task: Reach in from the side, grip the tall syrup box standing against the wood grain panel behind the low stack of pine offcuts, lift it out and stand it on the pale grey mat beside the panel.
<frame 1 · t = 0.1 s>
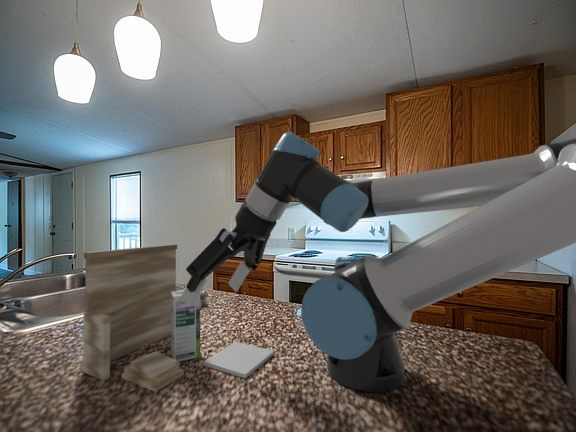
hand: (211, 293, 59), 15 cm above the countertop, tool tilted 35°, fingers open, 13 cm apart
egg carton: (190, 306, 102), on the countertop
offcut stack: (152, 378, 55), on the countertop
syrup box: (185, 356, 64), on the countertop
mat: (239, 359, 62), on the countertop
wood grain panel: (168, 358, 62), on the countertop
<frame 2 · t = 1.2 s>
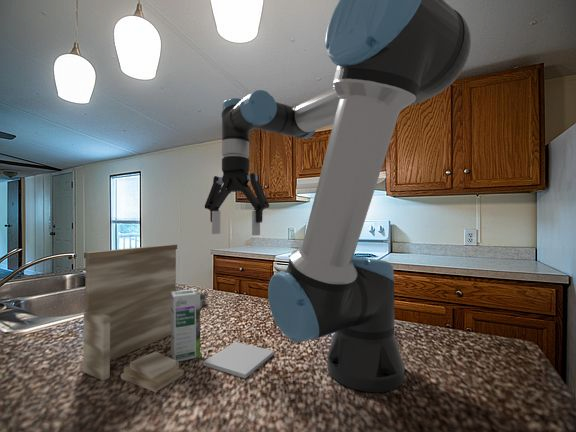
hand: (235, 234, 77), 27 cm above the countertop, tool pointing down, fingers open, 13 cm apart
nothing on the countertop moved.
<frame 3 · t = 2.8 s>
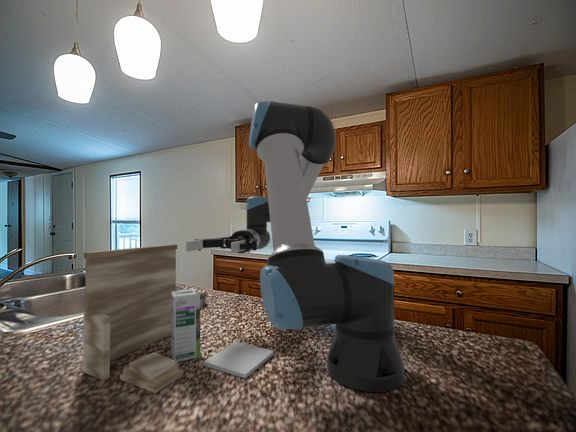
hand: (209, 247, 73), 24 cm above the countertop, tool horizontal, fingers open, 13 cm apart
nothing on the countertop moved.
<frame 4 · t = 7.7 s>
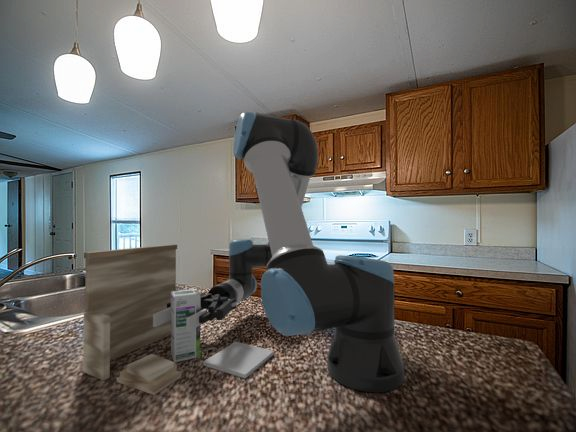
hand: (170, 322, 59), 9 cm above the countertop, tool horizontal, fingers closed on syrup box, 8 cm apart
syrup box: (185, 355, 64), on the countertop, touching gripper
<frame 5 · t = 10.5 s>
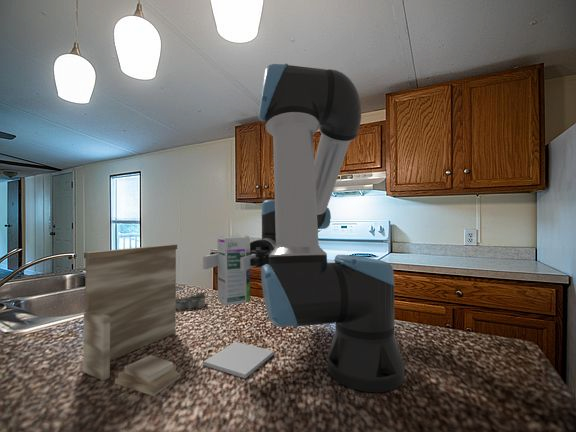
hand: (223, 263, 58), 22 cm above the countertop, tool horizontal, fingers closed on syrup box, 8 cm apart
syrup box: (233, 302, 62), point 13 cm above the countertop, touching gripper
when the fingers open (11 cm above the countertop, at t = 13.5 s): syrup box drops 1 cm, resting on mat.
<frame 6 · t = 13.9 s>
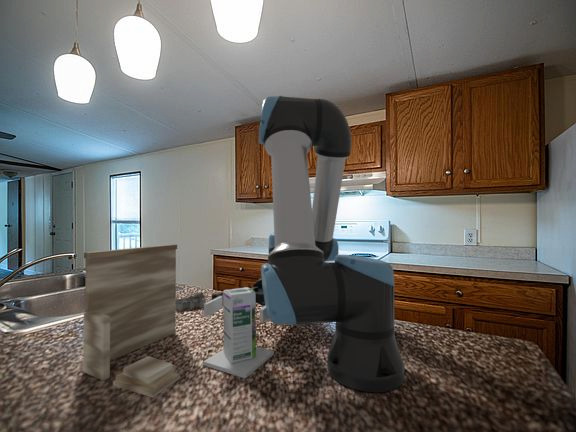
hand: (232, 313, 59), 11 cm above the countertop, tool horizontal, fingers open, 12 cm apart
syrup box: (239, 356, 62), point 1 cm above the countertop, touching mat
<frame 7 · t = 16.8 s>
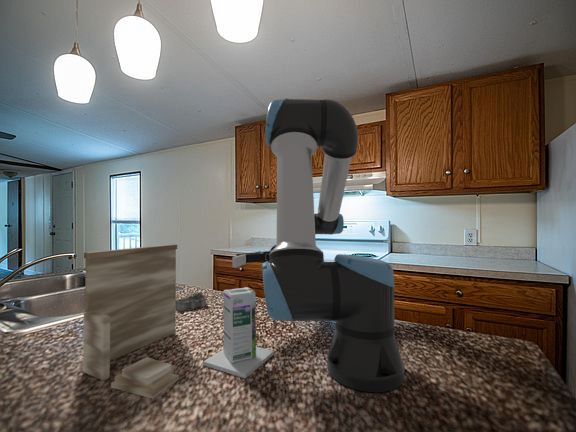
hand: (257, 263, 71), 20 cm above the countertop, tool horizontal, fingers open, 13 cm apart
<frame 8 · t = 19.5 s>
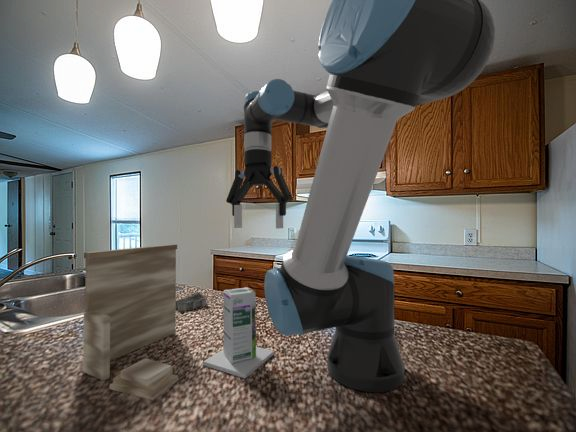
hand: (258, 228, 77), 29 cm above the countertop, tool pointing down, fingers open, 13 cm apart
at the end: syrup box inside the target area on the mat (0.2 cm from its centre), point 0.6 cm above the mat's base; syrup box tilted 0°; offcut stack moved 2.9 cm from its start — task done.
